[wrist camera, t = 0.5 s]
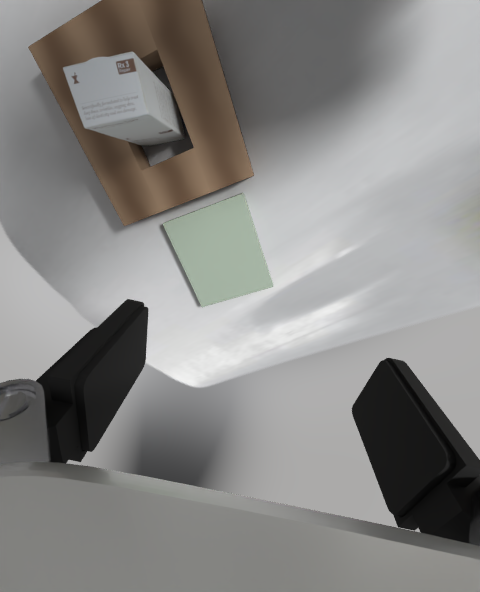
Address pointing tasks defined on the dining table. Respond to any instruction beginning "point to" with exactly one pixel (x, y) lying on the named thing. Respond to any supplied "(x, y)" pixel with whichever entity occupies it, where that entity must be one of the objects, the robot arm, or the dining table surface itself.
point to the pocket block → (187, 90)
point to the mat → (220, 251)
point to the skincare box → (124, 100)
